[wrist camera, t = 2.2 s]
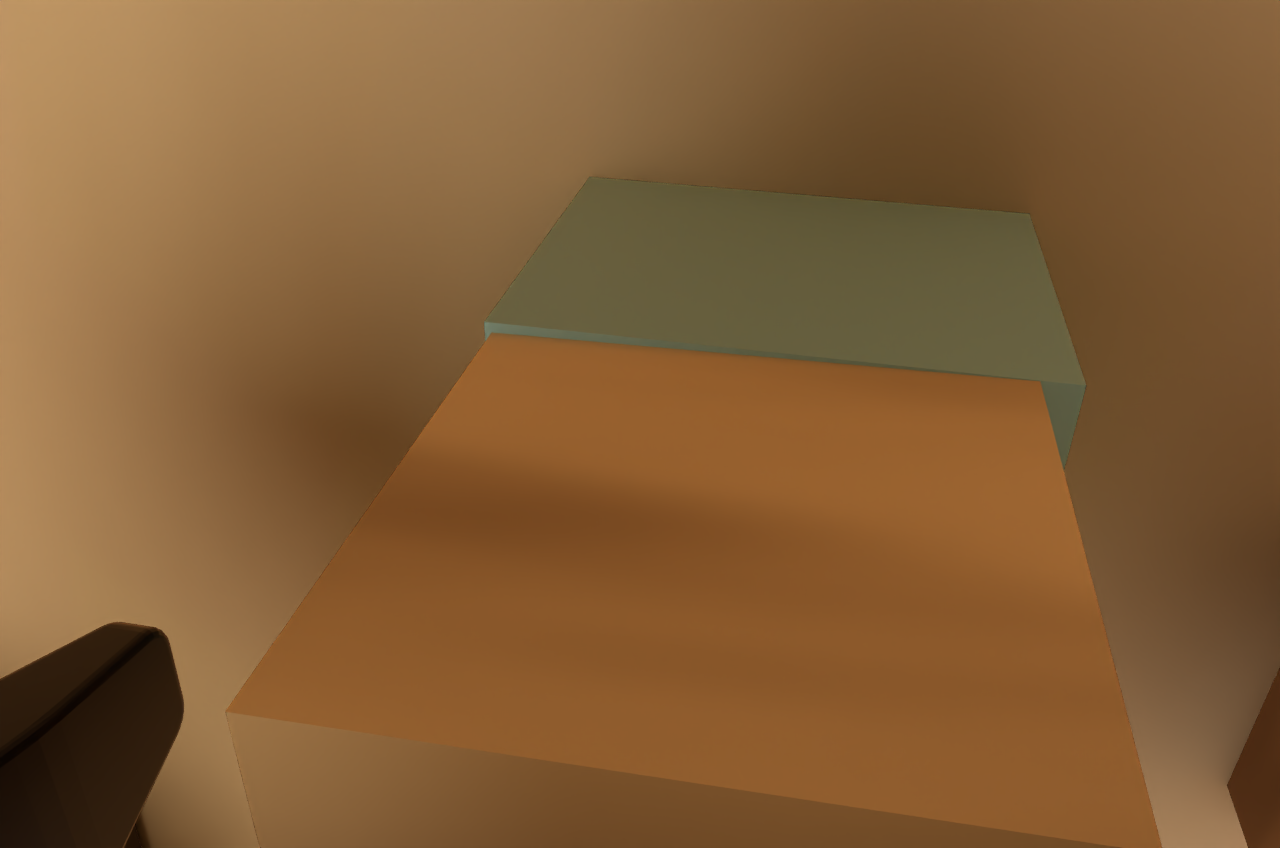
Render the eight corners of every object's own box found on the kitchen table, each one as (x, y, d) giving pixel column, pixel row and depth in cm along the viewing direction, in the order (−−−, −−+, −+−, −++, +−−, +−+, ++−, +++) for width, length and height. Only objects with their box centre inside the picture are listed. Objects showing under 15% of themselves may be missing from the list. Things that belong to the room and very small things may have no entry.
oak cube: (954, 779, 11) (994, 1313, 7) (518, 716, 11) (342, 1171, 8) (1040, 381, 8) (1162, 853, 5) (491, 332, 9) (224, 710, 5)
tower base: (952, 565, 14) (974, 811, 11) (591, 518, 15) (506, 734, 12) (1028, 209, 12) (1086, 386, 8) (591, 174, 13) (484, 321, 9)
